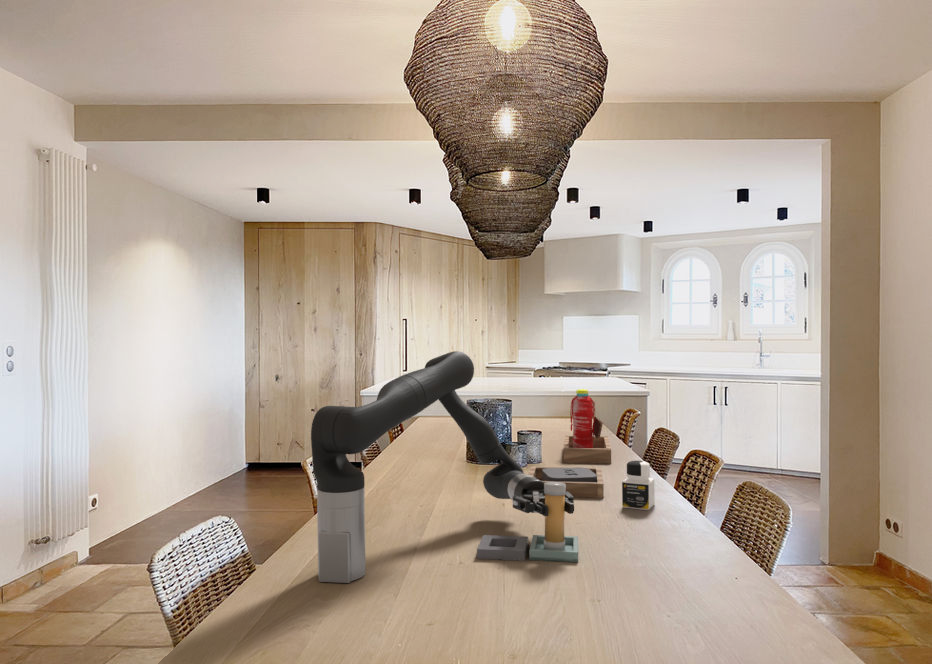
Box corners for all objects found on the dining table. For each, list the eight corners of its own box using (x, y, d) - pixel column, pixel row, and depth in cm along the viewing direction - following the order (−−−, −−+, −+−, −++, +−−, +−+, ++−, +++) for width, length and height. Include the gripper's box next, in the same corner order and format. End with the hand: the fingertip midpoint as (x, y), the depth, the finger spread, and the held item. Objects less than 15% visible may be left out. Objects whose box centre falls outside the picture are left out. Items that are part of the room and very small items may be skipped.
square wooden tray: (603, 497, 196) (603, 483, 196) (526, 495, 199) (525, 481, 199) (601, 480, 217) (601, 468, 217) (531, 479, 221) (531, 466, 221)
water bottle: (602, 453, 264) (602, 388, 264) (603, 457, 256) (602, 390, 256) (571, 453, 266) (570, 388, 266) (570, 456, 258) (569, 390, 258)
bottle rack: (611, 463, 245) (611, 449, 245) (563, 462, 248) (563, 448, 248) (607, 448, 275) (607, 436, 275) (565, 448, 277) (565, 435, 277)
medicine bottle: (622, 507, 185) (621, 462, 185) (628, 501, 191) (628, 458, 191) (648, 510, 181) (648, 465, 181) (654, 504, 188) (654, 460, 188)
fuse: (564, 553, 146) (565, 486, 146) (543, 551, 146) (543, 485, 147) (565, 546, 150) (565, 482, 150) (544, 545, 151) (544, 481, 151)
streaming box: (599, 494, 201) (599, 476, 201) (550, 496, 199) (550, 478, 199) (586, 483, 215) (586, 467, 215) (540, 485, 214) (540, 468, 214)
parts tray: (578, 562, 142) (578, 552, 142) (529, 560, 144) (529, 550, 144) (578, 545, 153) (578, 536, 153) (533, 543, 154) (533, 534, 154)
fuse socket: (524, 560, 143) (524, 551, 143) (476, 558, 145) (476, 549, 145) (528, 545, 153) (528, 536, 153) (483, 543, 155) (483, 535, 155)
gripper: (499, 478, 160) (527, 495, 143) (556, 474, 164) (589, 489, 148) (499, 511, 160) (528, 531, 143) (556, 505, 164) (590, 524, 148)
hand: (559, 510), depth 146 cm, fingers open, 5 cm apart
